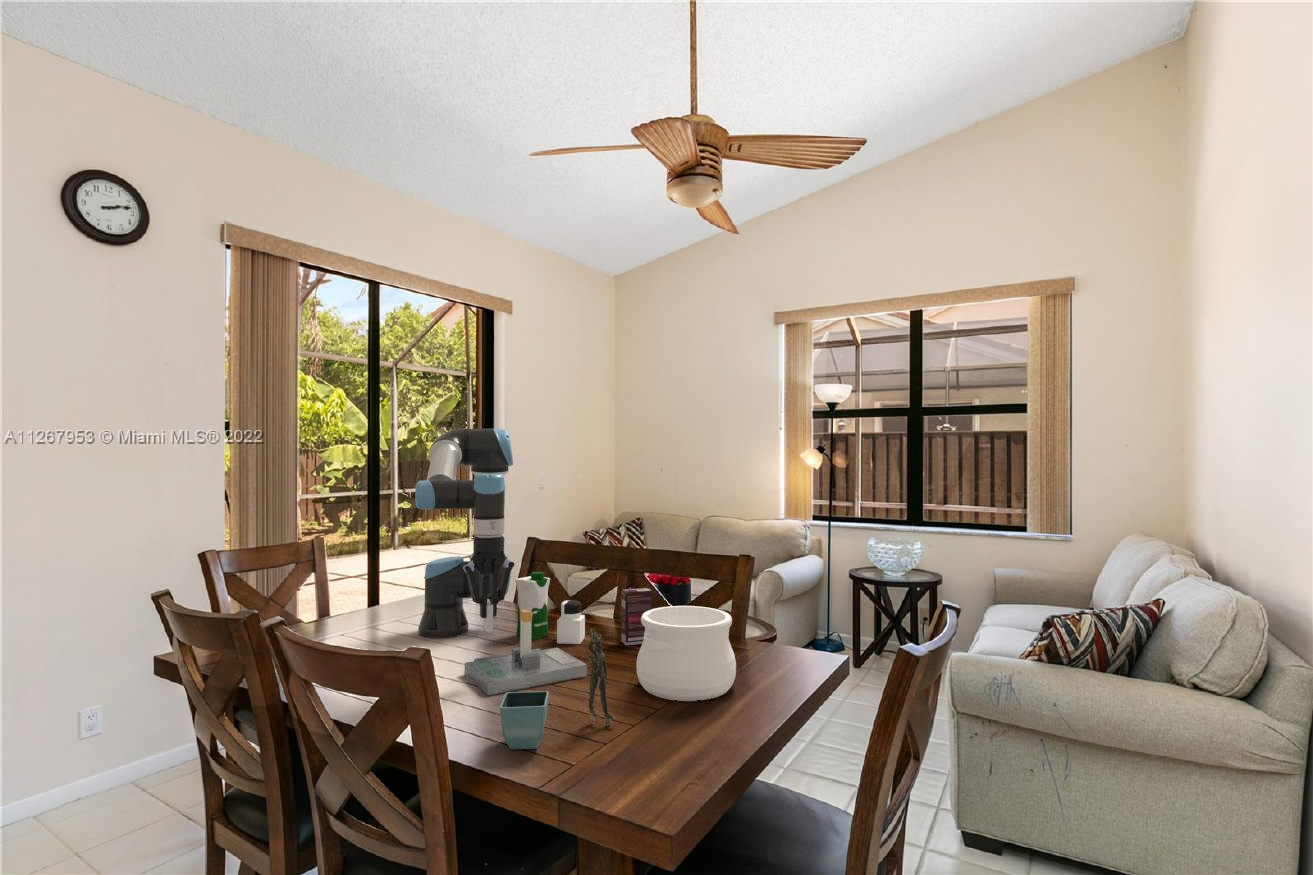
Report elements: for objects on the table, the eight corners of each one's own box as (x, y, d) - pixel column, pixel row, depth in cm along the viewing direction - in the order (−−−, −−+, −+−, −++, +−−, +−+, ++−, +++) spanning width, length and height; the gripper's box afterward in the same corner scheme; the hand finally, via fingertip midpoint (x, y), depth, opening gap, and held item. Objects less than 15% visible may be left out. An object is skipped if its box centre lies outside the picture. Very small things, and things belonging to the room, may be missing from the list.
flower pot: (504, 736, 140) (505, 691, 140) (548, 734, 141) (549, 690, 141) (498, 755, 131) (499, 707, 132) (545, 753, 132) (545, 706, 132)
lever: (519, 659, 179) (519, 609, 179) (526, 658, 180) (526, 609, 180) (524, 663, 175) (525, 613, 176) (532, 662, 176) (532, 612, 177)
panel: (464, 674, 178) (464, 651, 178) (557, 658, 192) (557, 636, 192) (488, 695, 163) (488, 670, 163) (586, 676, 177) (586, 652, 177)
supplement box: (647, 639, 212) (647, 587, 213) (652, 643, 208) (653, 590, 208) (620, 641, 209) (620, 589, 210) (625, 645, 205) (625, 592, 205)
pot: (686, 664, 187) (686, 599, 188) (758, 687, 170) (758, 615, 170) (613, 687, 169) (613, 615, 169) (686, 715, 152) (686, 635, 152)
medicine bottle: (585, 638, 213) (585, 599, 213) (580, 644, 206) (580, 604, 206) (562, 637, 214) (562, 598, 214) (556, 643, 207) (556, 603, 207)
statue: (607, 733, 142) (607, 635, 142) (582, 726, 145) (582, 631, 145) (619, 725, 146) (620, 629, 146) (594, 719, 149) (595, 626, 149)
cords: (468, 668, 183) (468, 658, 183) (540, 656, 194) (541, 646, 194) (473, 673, 179) (473, 662, 179) (547, 660, 190) (547, 650, 190)
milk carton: (532, 641, 209) (532, 575, 209) (511, 637, 214) (512, 572, 214) (552, 635, 216) (553, 571, 216) (532, 631, 221) (532, 568, 221)
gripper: (467, 538, 166) (467, 637, 166) (519, 535, 173) (518, 630, 173) (458, 535, 172) (457, 630, 172) (508, 532, 179) (507, 623, 179)
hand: (488, 630), depth 172 cm, fingers closed
